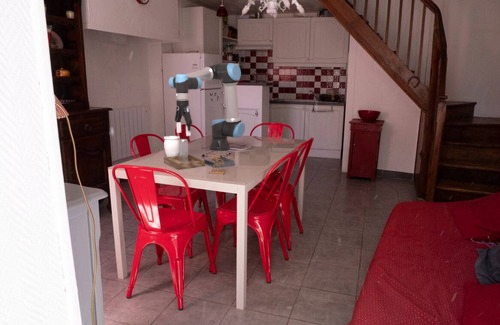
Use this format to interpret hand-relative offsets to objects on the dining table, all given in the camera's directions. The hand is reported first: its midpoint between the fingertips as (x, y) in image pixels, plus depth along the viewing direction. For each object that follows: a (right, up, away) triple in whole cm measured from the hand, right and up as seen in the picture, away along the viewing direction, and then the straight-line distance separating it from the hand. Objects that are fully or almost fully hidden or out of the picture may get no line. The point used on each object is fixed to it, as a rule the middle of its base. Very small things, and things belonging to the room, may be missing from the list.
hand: (183, 134), depth 238 cm
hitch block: (+22, -19, +5) cm, 30 cm away
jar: (-11, -15, +21) cm, 28 cm away
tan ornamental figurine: (+22, -24, -16) cm, 37 cm away
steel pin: (-1, -18, +4) cm, 19 cm away
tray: (-1, -19, +4) cm, 20 cm away
